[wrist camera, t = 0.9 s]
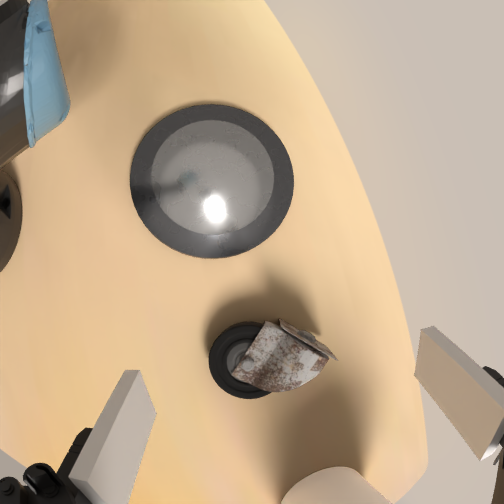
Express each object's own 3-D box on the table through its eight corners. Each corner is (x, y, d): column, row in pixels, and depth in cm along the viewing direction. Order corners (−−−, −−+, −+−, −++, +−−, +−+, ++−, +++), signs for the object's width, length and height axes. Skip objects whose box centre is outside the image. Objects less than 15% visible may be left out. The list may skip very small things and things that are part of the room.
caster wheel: (203, 361, 35) (247, 292, 35) (282, 408, 34) (329, 342, 34) (189, 378, 28) (242, 295, 28) (284, 433, 27) (341, 356, 27)
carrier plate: (101, 209, 32) (98, 206, 30) (186, 87, 35) (186, 82, 34) (247, 289, 34) (249, 289, 33) (313, 154, 38) (317, 150, 36)
